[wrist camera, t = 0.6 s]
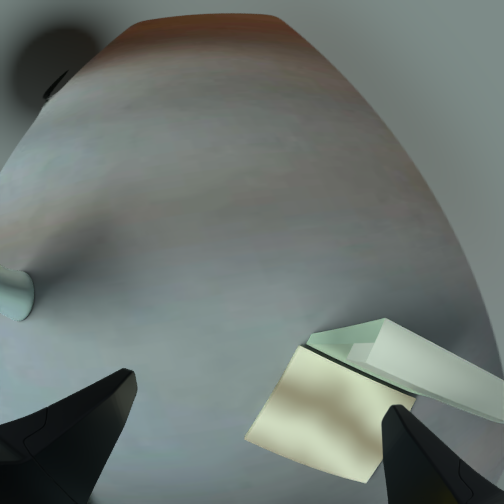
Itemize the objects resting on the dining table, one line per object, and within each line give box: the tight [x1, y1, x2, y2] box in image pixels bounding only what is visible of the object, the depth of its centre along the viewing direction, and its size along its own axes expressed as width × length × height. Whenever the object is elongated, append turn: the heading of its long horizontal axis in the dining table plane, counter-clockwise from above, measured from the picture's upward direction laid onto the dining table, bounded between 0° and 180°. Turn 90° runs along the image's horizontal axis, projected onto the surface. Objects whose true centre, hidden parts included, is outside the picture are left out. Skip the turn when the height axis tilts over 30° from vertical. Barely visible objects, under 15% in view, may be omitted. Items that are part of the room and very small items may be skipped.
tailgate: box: [306, 318, 504, 424], centre depth 15 cm, size 2×12×15 cm, turn 61°
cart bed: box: [244, 346, 416, 483], centre depth 21 cm, size 10×13×1 cm
